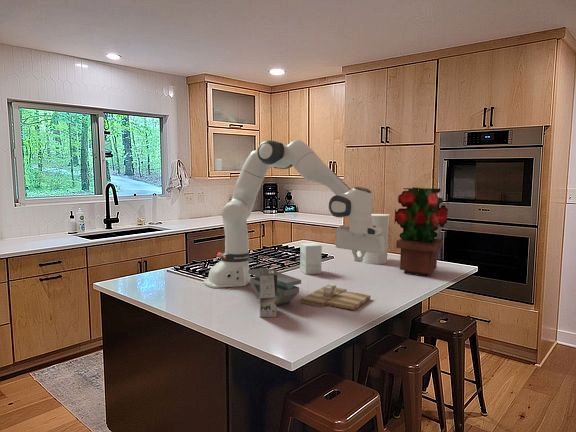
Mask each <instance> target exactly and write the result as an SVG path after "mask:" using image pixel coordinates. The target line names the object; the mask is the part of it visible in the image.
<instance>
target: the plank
mask: <svg viewBox="0 0 576 432" xmlns="http://www.w3.org/2000/svg"><path fill="white" fill-rule="evenodd" d="M369 300H371V294H365V293H359V292H354V291H353V292H351V291H347V290H346V291H344V292H342V293H341V294H339V295H337V296H335V297H334V298H332V299H330V300H329V301H327V302H326V305H325V306H328V307H335V308H340V309H346V310H352V311H355V310H356V309H357V308H359V307H360V306H362V305H363V304H364V303H366V302H367V301H369Z"/></svg>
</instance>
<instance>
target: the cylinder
mask: <svg viewBox="0 0 576 432" xmlns="http://www.w3.org/2000/svg"><path fill="white" fill-rule="evenodd" d="M371 218H372V224H374V225H376V226H378V227H380V228H382V229H383V233H382V235H383V236H384V241H385V250H384V252H383V253H381V254H376V253H369V252H366V254H365V255H364V257H363V261H362V262H361V263H363V264H366V265H367V264H368V265H369V264H370V265H382V264H383V265H384V264H386V263H387V262H388V253H389V252H388V249H389V247H388V245H389V231H390V228H389V226H390V214H389V213H387V214H386V213H384V214H383V213H371ZM361 255H362V254H361V251H357V256H358V257H361Z"/></svg>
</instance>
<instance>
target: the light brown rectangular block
mask: <svg viewBox="0 0 576 432" xmlns="http://www.w3.org/2000/svg"><path fill="white" fill-rule="evenodd" d="M344 291H347V289H346V288H341V287H337V284H334V283H329V284H326V285H324V286H322V287H321V288H319V289H317V290H315V291H313V292H310V293H309V294H307V295H305V296H304V297H301V298H300V299H299V300H300V301H299V302H300V303H301V304H305V305H310V306H314V307H315V306H316V307H320V308H323V307H324V306H327V305H326V302H327V301H329V300H330V299H332V298H334V297H335V296H337V295H339V294H341V293H342V292H344Z"/></svg>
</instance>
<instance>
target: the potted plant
mask: <svg viewBox="0 0 576 432" xmlns="http://www.w3.org/2000/svg"><path fill="white" fill-rule="evenodd" d="M440 192H441V188H425V187H424V188H422V187H413V186H412V188H411V187H409V188H408V187H407V188H406V187H403V191H402V192H401V194H399V195H398V197H397V201H398V203H399V204H400V205H401V208H398V209H397V210H396V208H395V209H394V225H395V224H396V223H397V224H398V225H399V226H400V228H401V229H402V230H403V231H402V232H400V234H399V235H398V236H399V239H397V240H396V244H395V248H396V249H400V255H399V256H400V257H399V260H400V261H399V270H402V271H404V272H403V273H404V274H407V273H410V274H409V275H414V274H418V275H417V276H421V275H425V276H424V277H427V275H428V274H429V275H431V273H433V272H434V271H435V270H436V269H437V261H438V250H440V249H441V248H443V243H444V242H443V240H444V239H441V238H437V237H438V233H437V232H436V231H437V230H438V229H439V227H440V228H444V227H445V225H446V224H447V223H448V213H449V209H448V208H447V206H446V205H445V204H442V203H443V202H444V199H443V197H439V196H437V195H438V194H439V193H440ZM440 205H441V206H440ZM402 207H403V208H402ZM429 275H428V276H429Z"/></svg>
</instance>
